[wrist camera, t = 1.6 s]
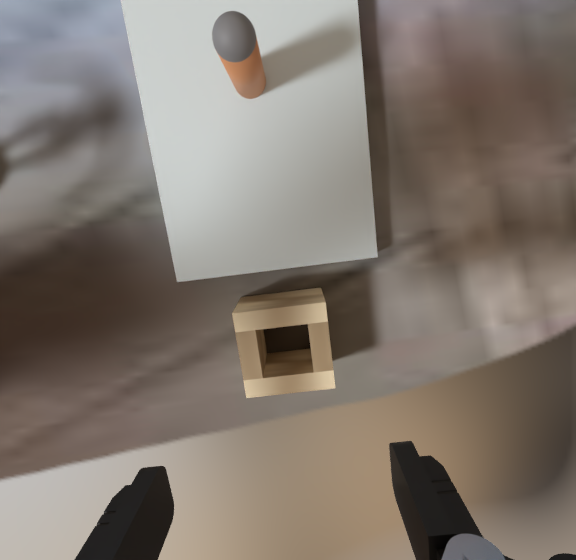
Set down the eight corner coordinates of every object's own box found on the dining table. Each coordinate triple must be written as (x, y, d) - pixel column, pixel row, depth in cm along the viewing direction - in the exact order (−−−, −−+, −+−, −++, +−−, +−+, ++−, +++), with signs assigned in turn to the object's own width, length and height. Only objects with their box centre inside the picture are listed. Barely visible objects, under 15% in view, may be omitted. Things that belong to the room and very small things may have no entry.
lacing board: (183, 277, 26) (133, 312, 18) (129, 2, 23) (35, -112, 14) (372, 254, 26) (410, 278, 18) (349, -33, 22) (383, -173, 14)
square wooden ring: (253, 370, 28) (246, 398, 24) (241, 297, 27) (232, 313, 23) (329, 361, 28) (335, 388, 24) (320, 287, 27) (325, 302, 23)
